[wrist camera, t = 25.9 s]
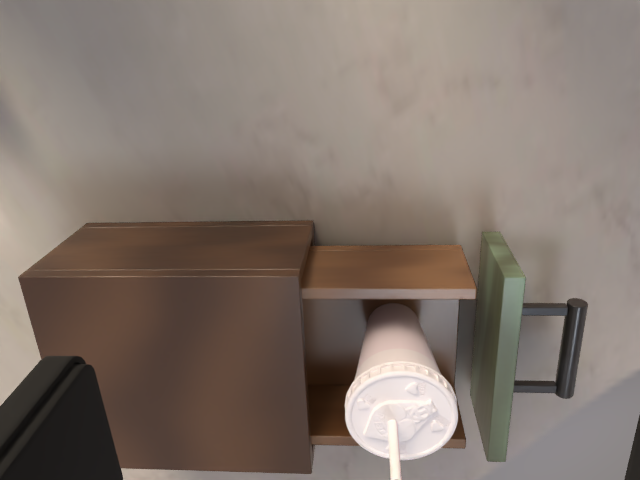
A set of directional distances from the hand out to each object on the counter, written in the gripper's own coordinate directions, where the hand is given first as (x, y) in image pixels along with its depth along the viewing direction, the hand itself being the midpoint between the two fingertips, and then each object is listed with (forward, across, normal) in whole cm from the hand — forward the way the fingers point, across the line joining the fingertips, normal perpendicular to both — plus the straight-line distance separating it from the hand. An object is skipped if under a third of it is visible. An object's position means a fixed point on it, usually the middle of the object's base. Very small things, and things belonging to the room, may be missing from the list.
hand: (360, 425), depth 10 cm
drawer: (+28, -3, +15) cm, 32 cm away
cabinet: (+29, +12, +15) cm, 35 cm away
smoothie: (+27, -2, +15) cm, 31 cm away
